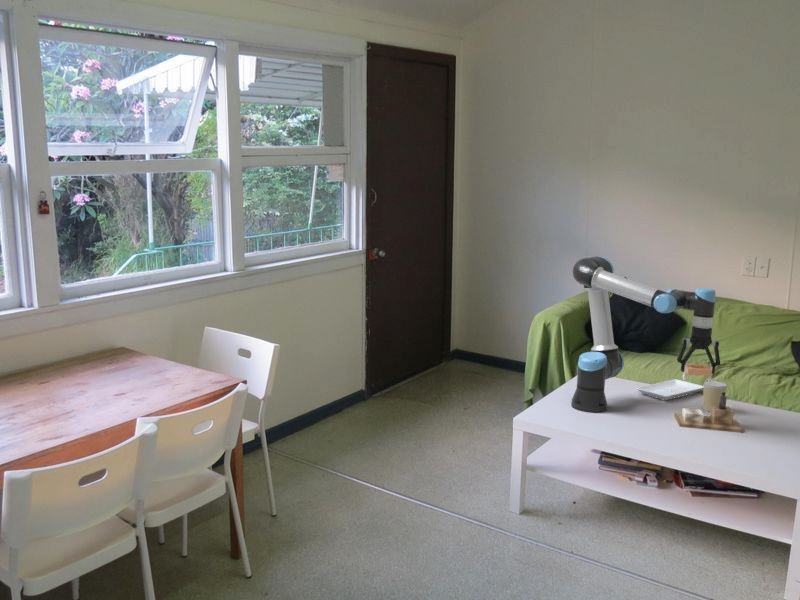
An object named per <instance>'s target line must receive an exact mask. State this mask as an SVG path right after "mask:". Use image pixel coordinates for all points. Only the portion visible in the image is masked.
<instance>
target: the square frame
mask: <svg viewBox="0 0 800 600" xmlns="http://www.w3.org/2000/svg"><path fill="white" fill-rule="evenodd" d="M686 364H687V371H686V375H691V376H701V377H702V376H703V377H708V376H711V375H713V374H712V370H711V369H710V368H709V365H708V364H697V363H687V362H686ZM711 377H712V376H711Z"/></svg>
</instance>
